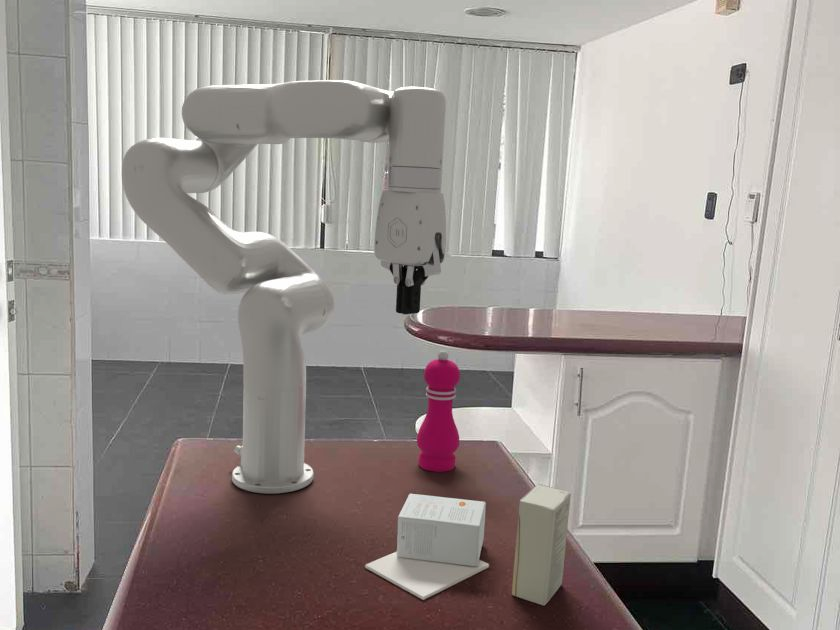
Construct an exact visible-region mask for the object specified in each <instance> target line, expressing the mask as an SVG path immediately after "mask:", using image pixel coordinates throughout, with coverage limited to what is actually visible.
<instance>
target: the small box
mask: <svg viewBox="0 0 840 630" xmlns="http://www.w3.org/2000/svg"><path fill="white" fill-rule="evenodd" d="M486 506H487V503H486V501H483V500H481V501H480V500H473V499H472V500H471V499H463V498H453V497H445V496H444V497H443V496H436V495H429V494H426V495H425V494H417V493H416V494H415V493H409V494H408V496H407V498H406V501H405V502H404V504H403V505H402V507H401V508H402V509H401V510H400V512H399V514H398V516H397V532H396V533H397V534H396V535H397V538H396V552H397V557H402V558H409V559H418V560H426V561H434V562H442V563H450V564H458V565H467V566H474V567H477V566H478V562H479V560H480V557H481V553H482V552H481V551H482V549H483V548H482V547H483V543H484V540H485V539H484V536H485V525H486V524H485V522H486V510H487V509H486V508H487V507H486Z"/></svg>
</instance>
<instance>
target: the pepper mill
mask: <svg viewBox="0 0 840 630" xmlns="http://www.w3.org/2000/svg"><path fill="white" fill-rule="evenodd" d="M437 353H438V354H437V358H436V359H433V360H431V361H429V362H428V364H427V365H426V366H425V368H424V371H423V380H424V381H425V383H426V384H427V385H428V386H427V387H426V388H425V391H426V393H425V396H426V397H427V400H428V402H427V403H428V405H427V411H426V415H425V416H424V418H423V421H422V423H421V425H420V427H419V429H418V431H417V435H416V436H417V437H416V444H417V447H418V449H420V451H421V452H419V454H418V462H417V463H418V466H419V467H420V468H421V469H423V470H425V471H427V472H428V471H430V472H435V473H441V472H442V473H444V472H449V471H452V470H454V469H455V467H456V455H455V454H454V453H456V451H457V450H458V448H459V446H460V435H459V430H458V428H457V425H456V422H455V419H454V416H453V402H454V399H455V398H456V396H457V395H456V393H457V389H456V388H455V387H456V386H457V385H458V383H459V381H460V380H461V379H460V377H461V374H460V368H459V366H458V365H457V364H456V363H455V362H453V361H452V360H450V359H448V358H449V352H448V351H446V350H444V349H443V350H440V351H439V352H437Z"/></svg>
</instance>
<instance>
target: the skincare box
mask: <svg viewBox="0 0 840 630" xmlns="http://www.w3.org/2000/svg"><path fill="white" fill-rule="evenodd" d="M571 495H572V492H571V491H567V490H564V489H560V488H556V487H553V486H552V487H551V486H549V485H545V484H541V483H537V484H535V486H534V487H533V488H531V489H530V490H529V491H528V492H527V493H526V494H525V495H524V496H522V498H521V499H520V500H519V505H518V506H519V507H518V508H519V509H518V518H517V527H516V528H517V529H516V530H517V531H516V541H515V550H514V562H513V563H514V564H513V573H512V574H513V575H512V585H511V587H512V588H511V596H514V597H517V598H520V599H522V600H525V601H529V602H531V603H534V604H538V605H541V606H543V607H544V606H545V605H546V604H547V603H549V601H550V600H551V598H553V596H554V595H555V594H556V592H557V591H558V590H559V588H560V587H561V585H562V583H563V576H564V563H565V555H566V545H567V543H566V542H567V535H568V527H569V526H568V525H569V515H570V506H571V497H572V496H571Z"/></svg>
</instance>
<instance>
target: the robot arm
mask: <svg viewBox="0 0 840 630" xmlns="http://www.w3.org/2000/svg"><path fill="white" fill-rule="evenodd" d="M446 100H447V99H446V96H445V94H444V92H442V91H441V90H439V89H436V88H431V87H423V86H404V87H399V88H396V89H395V90H394V91H392V90H391V91H390V90H387V89H381V88H378V87H374V86H372V85H368V84H365V83H360V82H358V81H357V82H356V81H353V80H343V79H342V80H341V79H339V80H338V79H336V80H335V79H333V80H332V79H327V80H326V79H324V80H322V79H321V80H320V79H319V80H318V79H317V80H297V81H287V82H280V83H279V82H278V83H269V84H267V83H266V84H260V83H259V84H220V85H219V84H218V85H217V84H215V85H206V86H201V87H198V88H196V89H194V90H193V91H191V92H190V93H189V94H188V95H187V96H186V98H185V99H184V101H183V102H182V106H181V119H182V122H183V124H184V126H185V128H186V129H187V130H188V132H189V133H190V134H191V135H193V137H195V138H197V139H196V140H191V139H189V140H188V139H182V138H181V139H179V138H170V137H153V138H147V139H146V138H145V139H143V140H140V141H138V142H136V143H134V144H133V145H132V146H130V147H129V148H128V150H127V151H126V152H125V154H124V157H123V159H122V164H121V181H122V185H123V186H122V187H123V190H124V193H125V196H126V200H127V201H128V203H129V205H130V207H131V209H132V210H133V211H134V213H135V214H136V216H137V217H138V218H139V219H140V220H141V221H142V222H143V223H144V224H145V225H146V226H147V227H148V228H149V229H150V230H151V231H152V232H154V233H155V234H156V235H157V236H159V237H160V238H161V239H162V240H163V241H164V242H165V243H166V244H167V245H168V246H169V247H170V248H171V249H172V250H174V252H175V253H176V254H177V255H178V256H179V257H180V258H181V259H182V260H183V261H184V262H185V263H186V264H187V265H188V266H189V267H190V268H191V269H192V270H193V271H194V272H195V273H196V274H197V275H198V276H199V277H200V278H201V279H202V280H203V281H204V282H205V283H206V284H207V285H208V286H209V287H211V288H212V289H213V290H214V291H215V292H218V293H220V294H223V295H238V294H243V293H244V294H243V296H242V297H241V299H240V301H239V304H238V310H237V323H238V328H239V329H238V330H239V335H240V338H241V339H240V341H241V345H242V346H241V347H242V348H241V349H242V360H243V362H242V367H243V368H242V370H243V372H242V373H243V376H242V377H243V378H242V379H243V380H242V382H243V383H242V384H243V391H242V392H243V393H242V394H243V397H242V400H243V401H242V402H243V404H242V407H243V408H242V409H243V410H242V443H241V445H236V446H235V447H234V450H233V451H234V453H235V454H236V455H239V456H240V464H238V466H235V468H234V469H233V470H232V471H231V472H232V473H231V481H232V483H233V484H234V485H235V486H236V487H237V488H239V489H240V490H244V491H246V492H251V493H257V494H269V495H271V494H273V495H274V494H285V493H290V492H296V491H298V490H301V489H304V488H305V487H307V486H309V485H310V484H311V483H312V482H313V481H314V469H313V468H312V466H310V465H309V464H307V463H305V442H306V441H305V439H306V438H305V437H306V407H307V406H306V401H307V399H306V398H307V365H306V364H307V363H306V358H305V354H304V351H303V347H302V345H301V337H302V336H306V335H308V334H312V333H315V332H317V331H319V330H321V329H323V328H324V327H325V326H326V325H328V323H329V322H331V320H332V317H333V315H334V313H335V299H334V295H333V293H332V290H331V288H330V287H329V286H328V284H327V283H326V281H324V279H323V278H322V277H321V276H320V275H319V274H318V273H317V272H316V271H315V270H314V269H313V268H312V267H310V265H309V264H307V263H306V262H305V261H304V260H303V259H302V258H301V257H300V256H299V255H298V254H297V253H295V251H293V249H292V248H290V247H289V246H288V245H287V244H286V243H284V242H283V241H282V240H281V239H279V238H278V237H276V236H274V235H272V234H270V233H268V232H264V231H263V232H262V231H237V230H235V229H233V228H232V227H230V226H229V225H228V224H226V223H225V222H224V221H223V220H222V219H220V218H219V216H217V215H216V213H215V212H214V211H213V210H211V209H210V207H207V205H205V204H204V203H202V202H200V201H199V200H197V199H196V198H194V197H193V196H191V195H189V194H204V193H205V194H206V193H207V192H211V191H214V190H216V188H219V186H221V185H222V184H223V183H224V182H225V181H226V180H227V179H228V178H229V177H230V176H231V175H232V174H233V172H234V171H235V170H236V169H237V168H238V167H239V166H240V165H241V164H242V163H243V162H244V160H246V158H247V157H248V156H249V155H250V154H251V153H252V151H253V150H254V149H255V148H257V147H258V145H284V144H286V143H287V142H288V141H289V140H290V139H335V140H336V139H337V140H338V139H340V140H351V141H357V142H358V141H359V142H363V143H364V142H365V143H372V144H380V143H387V142H388V147H387V149H388V151H387V152H388V153H387V167H386V168H387V170H386V171H387V172H386V173H385V174H384V178H385V180H386V189H383V190H382V192H381V196H380V199H379V205H378V209H377V215H376V223H375V224H376V225H375V234H374V243H373V244H374V247H373V252H374V256H375V258H376V259H377V260H379V261H380V265H381V267H382V268H384V269H386V270H388V271H390V273H391V274H392V276H393V283H394V284H395V285H396V301H395V303H396V305H395V312H396V313H397V314H402V315H412V314H413V315H414V314H419V313H420V309H421V295H422V294H421V293H422V286H425V283H426V280H427V279H428V278H429V277H431V276H437V275H438V276H439V275H440V274H441V273H442V267H441V264H442V263H444V260H445V256H446V251H447V250H446V248H447V216H446V214H447V213H446V204H445V197H444V195H445V194H444V193H443V192H442V185H443V184H442V179H443V162H444V160H443V159H444V147H445V144H444V142H445V131H446V130H445V127H446V111H447V110H446V107H447V103H446V102H447V101H446ZM256 146H257V147H256Z"/></svg>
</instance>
